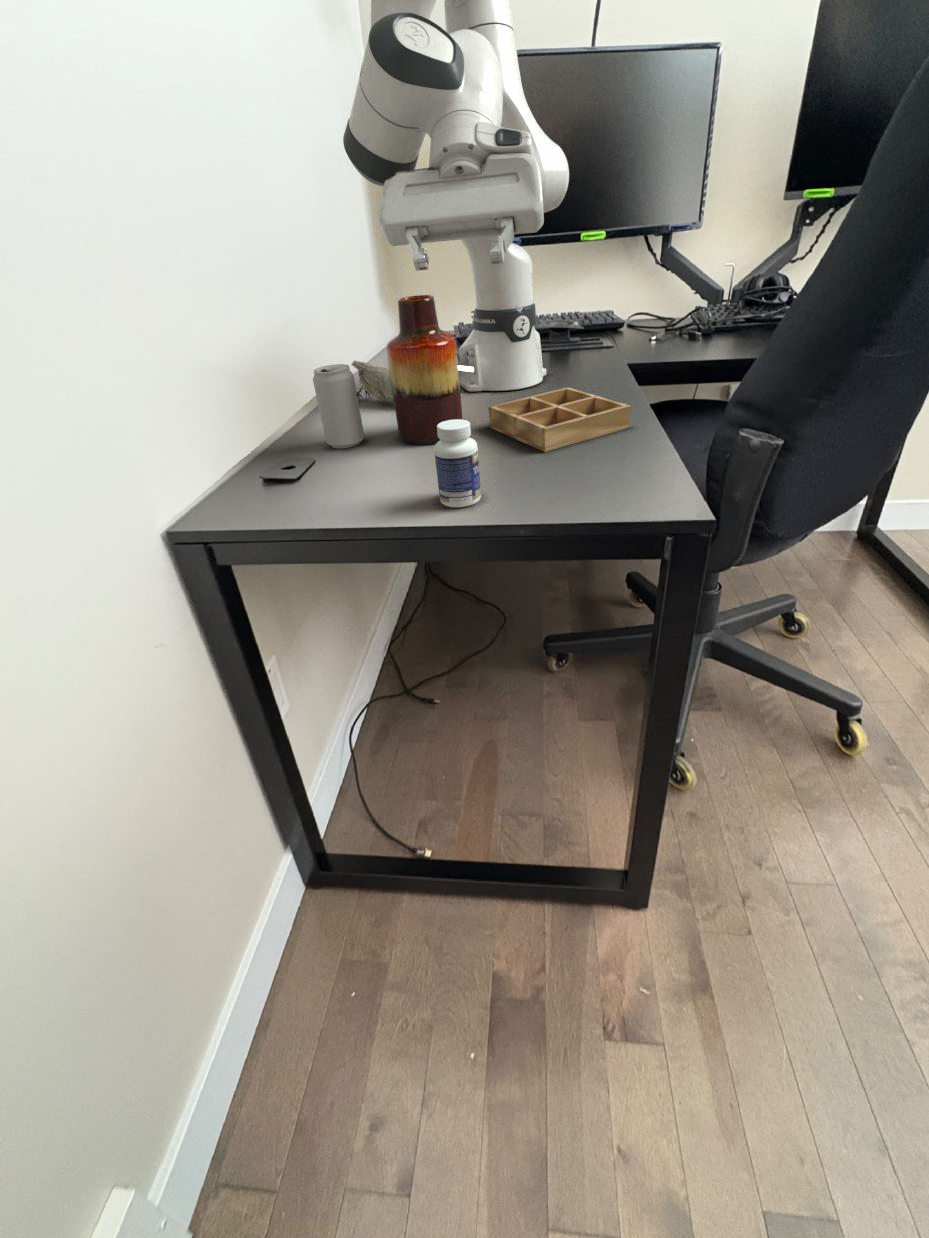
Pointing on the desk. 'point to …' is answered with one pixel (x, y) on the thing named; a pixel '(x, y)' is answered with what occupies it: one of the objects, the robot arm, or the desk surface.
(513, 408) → the wooden compartment tray
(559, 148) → the robot arm
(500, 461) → the desk surface
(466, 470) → the pill bottle
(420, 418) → the vase
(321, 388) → the beverage can
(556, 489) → the desk surface
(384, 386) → the decorative bird
